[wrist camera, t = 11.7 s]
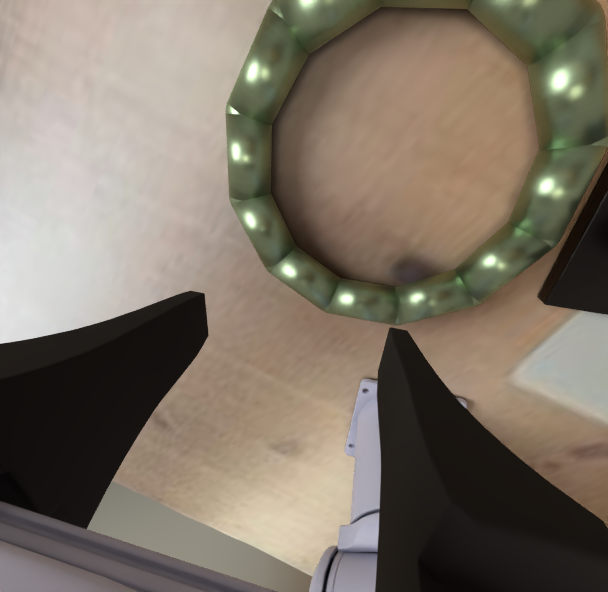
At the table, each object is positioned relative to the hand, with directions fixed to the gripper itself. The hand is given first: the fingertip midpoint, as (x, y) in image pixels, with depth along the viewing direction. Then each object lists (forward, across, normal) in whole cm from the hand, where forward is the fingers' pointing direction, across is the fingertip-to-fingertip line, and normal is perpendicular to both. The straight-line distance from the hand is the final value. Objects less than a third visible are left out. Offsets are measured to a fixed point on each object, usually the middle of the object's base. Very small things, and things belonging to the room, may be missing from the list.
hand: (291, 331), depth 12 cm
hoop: (+8, -3, -5) cm, 10 cm away
